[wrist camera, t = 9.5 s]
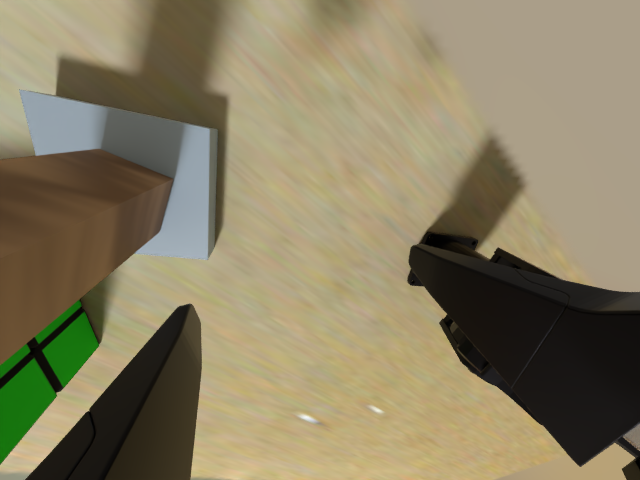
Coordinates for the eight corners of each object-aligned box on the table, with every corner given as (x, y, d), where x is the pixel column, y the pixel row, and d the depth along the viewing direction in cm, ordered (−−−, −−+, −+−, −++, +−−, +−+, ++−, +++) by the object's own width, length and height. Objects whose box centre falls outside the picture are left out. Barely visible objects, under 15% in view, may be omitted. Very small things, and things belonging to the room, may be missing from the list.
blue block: (219, 129, 18) (209, 128, 16) (216, 244, 22) (207, 259, 19) (62, 96, 16) (19, 89, 13) (89, 231, 20) (59, 247, 17)
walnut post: (173, 178, 16) (-44, 278, 5) (159, 232, 18) (-35, 394, 7) (99, 148, 15) (-383, 202, 4) (90, 209, 16) (-284, 365, 6)
